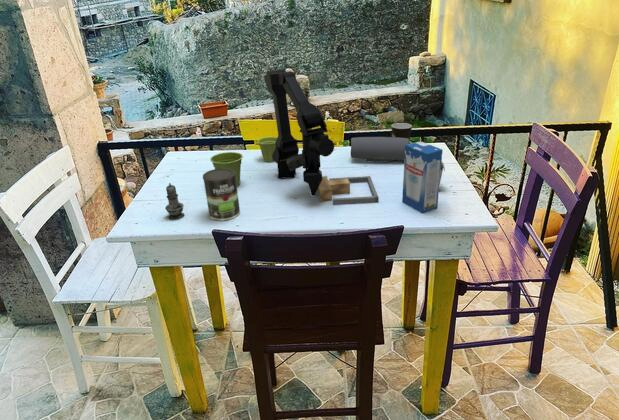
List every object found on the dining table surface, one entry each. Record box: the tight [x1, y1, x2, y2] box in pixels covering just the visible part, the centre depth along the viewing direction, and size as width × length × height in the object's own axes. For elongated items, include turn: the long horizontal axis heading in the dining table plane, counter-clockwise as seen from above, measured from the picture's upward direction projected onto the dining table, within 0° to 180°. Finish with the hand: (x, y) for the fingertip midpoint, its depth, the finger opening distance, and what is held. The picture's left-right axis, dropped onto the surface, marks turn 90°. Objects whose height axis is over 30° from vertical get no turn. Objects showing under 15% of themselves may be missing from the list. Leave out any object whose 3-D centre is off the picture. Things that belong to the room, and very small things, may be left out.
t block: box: [316, 175, 351, 202], centre depth 159 cm, size 11×12×4 cm
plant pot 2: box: [257, 136, 278, 163], centre depth 191 cm, size 9×9×9 cm
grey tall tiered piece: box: [164, 182, 185, 221], centre depth 147 cm, size 6×6×12 cm
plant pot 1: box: [209, 151, 244, 188], centre depth 168 cm, size 12×12×11 cm
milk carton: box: [401, 140, 443, 214], centre depth 144 cm, size 10×6×20 cm, turn 29°
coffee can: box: [202, 168, 241, 222], centre depth 147 cm, size 10×10×14 cm
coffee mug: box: [390, 122, 413, 141], centre depth 197 cm, size 12×9×10 cm
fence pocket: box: [328, 175, 380, 206], centre depth 159 cm, size 15×18×2 cm
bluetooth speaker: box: [350, 136, 410, 163], centre depth 184 cm, size 23×9×10 cm, turn 80°
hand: (312, 190), depth 159 cm, fingers open, 9 cm apart
